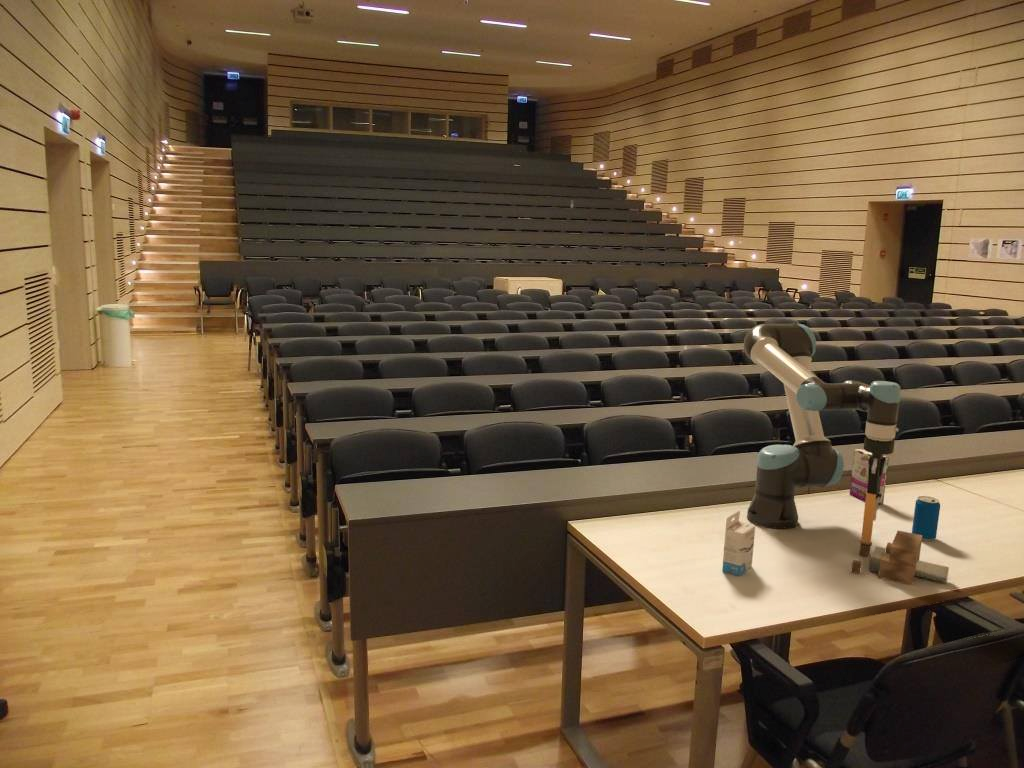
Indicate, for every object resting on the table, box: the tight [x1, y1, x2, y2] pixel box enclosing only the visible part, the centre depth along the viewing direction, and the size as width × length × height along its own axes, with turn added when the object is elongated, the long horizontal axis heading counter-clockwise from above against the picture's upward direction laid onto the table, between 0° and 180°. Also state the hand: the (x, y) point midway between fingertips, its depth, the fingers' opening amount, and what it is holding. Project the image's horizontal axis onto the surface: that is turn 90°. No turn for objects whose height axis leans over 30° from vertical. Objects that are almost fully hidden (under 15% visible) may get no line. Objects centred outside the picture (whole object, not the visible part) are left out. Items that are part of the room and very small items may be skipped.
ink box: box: [721, 510, 756, 577], centre depth 204 cm, size 8×5×15 cm, turn 141°
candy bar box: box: [849, 448, 890, 505], centre depth 264 cm, size 11×5×16 cm, turn 17°
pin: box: [868, 545, 950, 583], centre depth 205 cm, size 18×9×4 cm, turn 57°
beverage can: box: [911, 495, 941, 542], centre depth 230 cm, size 6×6×12 cm
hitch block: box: [850, 530, 923, 586], centre depth 208 cm, size 15×16×9 cm
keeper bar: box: [859, 493, 876, 547], centre depth 215 cm, size 3×15×1 cm
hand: (870, 519), depth 218 cm, fingers closed
